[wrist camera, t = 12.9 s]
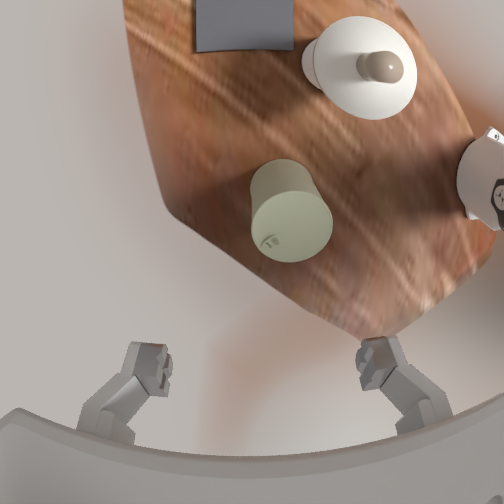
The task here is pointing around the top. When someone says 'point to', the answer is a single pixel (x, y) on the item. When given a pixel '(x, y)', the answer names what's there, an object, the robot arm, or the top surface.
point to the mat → (244, 25)
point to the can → (288, 212)
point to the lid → (364, 67)
